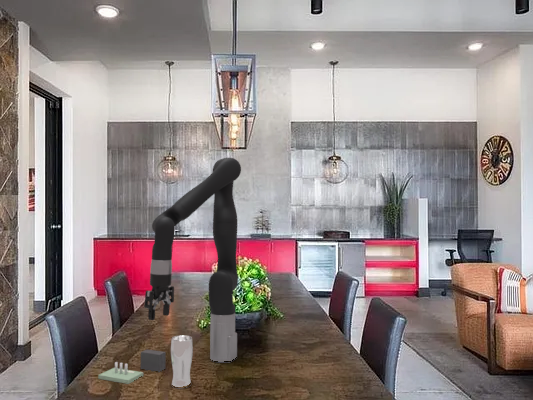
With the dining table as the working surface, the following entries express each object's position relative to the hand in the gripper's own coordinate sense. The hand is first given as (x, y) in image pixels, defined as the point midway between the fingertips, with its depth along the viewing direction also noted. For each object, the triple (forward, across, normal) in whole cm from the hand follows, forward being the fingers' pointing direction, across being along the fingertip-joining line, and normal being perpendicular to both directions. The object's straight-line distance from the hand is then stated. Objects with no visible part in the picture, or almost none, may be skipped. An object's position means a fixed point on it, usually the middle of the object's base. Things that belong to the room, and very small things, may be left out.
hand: (158, 317), depth 177 cm
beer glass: (+17, -12, -18) cm, 28 cm away
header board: (+18, -15, +3) cm, 23 cm away
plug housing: (+17, -4, -1) cm, 18 cm away
